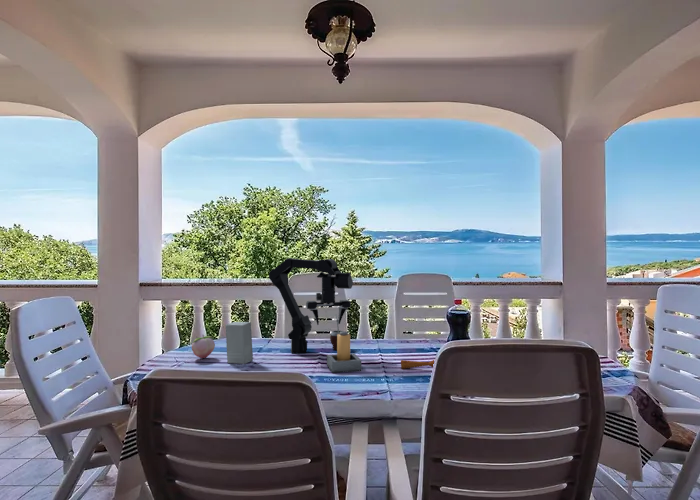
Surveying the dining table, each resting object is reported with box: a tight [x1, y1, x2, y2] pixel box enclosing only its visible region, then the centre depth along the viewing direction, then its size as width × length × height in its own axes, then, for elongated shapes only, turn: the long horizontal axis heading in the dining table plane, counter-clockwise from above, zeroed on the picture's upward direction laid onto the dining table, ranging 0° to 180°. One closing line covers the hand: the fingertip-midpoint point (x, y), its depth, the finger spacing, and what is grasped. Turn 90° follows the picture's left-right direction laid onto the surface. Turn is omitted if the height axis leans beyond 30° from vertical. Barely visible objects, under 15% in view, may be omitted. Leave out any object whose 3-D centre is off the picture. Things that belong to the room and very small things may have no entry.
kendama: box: [400, 359, 435, 370], centre depth 156 cm, size 6×6×20 cm
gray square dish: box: [326, 353, 362, 374], centre depth 158 cm, size 11×11×4 cm
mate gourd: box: [329, 314, 343, 351], centre depth 190 cm, size 8×8×15 cm
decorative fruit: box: [191, 334, 216, 359], centre depth 172 cm, size 9×8×10 cm
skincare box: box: [225, 321, 254, 365], centre depth 167 cm, size 8×7×16 cm
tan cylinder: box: [336, 330, 351, 361], centre depth 158 cm, size 5×5×13 cm
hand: (328, 324), depth 179 cm, fingers open, 9 cm apart
